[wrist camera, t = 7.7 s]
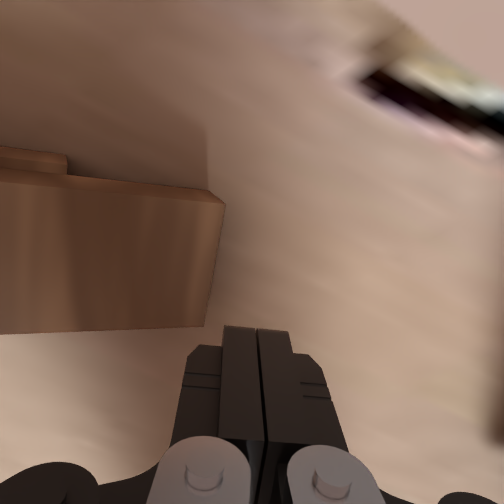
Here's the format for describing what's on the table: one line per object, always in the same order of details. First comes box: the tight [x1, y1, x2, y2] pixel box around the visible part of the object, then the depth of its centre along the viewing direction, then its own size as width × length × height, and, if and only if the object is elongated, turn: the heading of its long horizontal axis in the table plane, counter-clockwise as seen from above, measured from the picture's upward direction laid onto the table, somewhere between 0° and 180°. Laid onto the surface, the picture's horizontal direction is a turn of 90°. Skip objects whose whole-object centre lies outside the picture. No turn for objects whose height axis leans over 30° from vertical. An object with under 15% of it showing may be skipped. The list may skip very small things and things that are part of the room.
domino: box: [0, 167, 226, 335], centre depth 14 cm, size 2×5×10 cm
